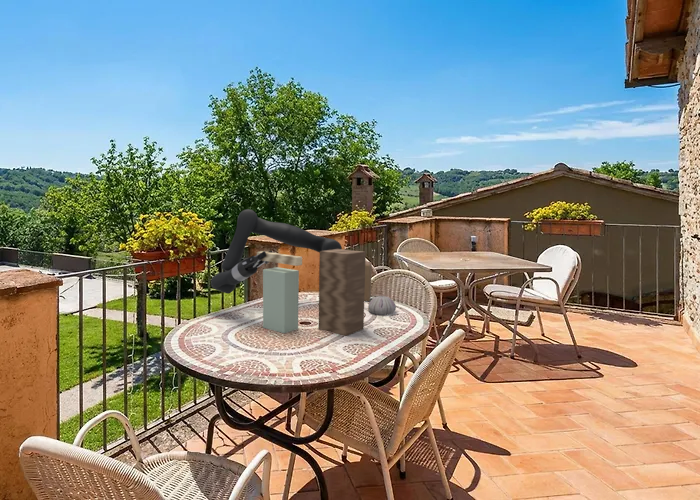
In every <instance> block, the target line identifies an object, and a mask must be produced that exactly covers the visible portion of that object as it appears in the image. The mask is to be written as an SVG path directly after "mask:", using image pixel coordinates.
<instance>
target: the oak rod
mask: <svg viewBox="0 0 700 500" xmlns="http://www.w3.org/2000/svg"><path fill="white" fill-rule="evenodd" d="M262 252H264V250H263V251H257V254H256V255H259V254H260V253H262ZM265 252H266V257H264V258H263V259H261V260H263V261H269V262H270V263H277V264H283V265H288V266H296V267H297V266H302V265H303V256H299V255H292V254H284V253H278V252H273V253H271V252H269V251H265Z"/></svg>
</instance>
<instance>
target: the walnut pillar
mask: <svg viewBox="0 0 700 500" xmlns="http://www.w3.org/2000/svg"><path fill="white" fill-rule="evenodd" d="M366 254H367V253H366V251H362V250H353V249H333V250H325V251H320V253H319V267H318V269H319V272H318V274H319V276H318V277H319V278H318V279H319V282H318V284H319V286H318V289H319V290H318V328H317V329H318V330H319V331H324V332H327V333H333V334H336V335H341V336H344V337H348V336H350V335H353V334H355V333H357V332H360V331H363V330H364V324H365V323H364V322H365V320H364V319H365V302H364V294H365V262H366Z"/></svg>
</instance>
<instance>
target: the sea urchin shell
mask: <svg viewBox="0 0 700 500" xmlns="http://www.w3.org/2000/svg"><path fill="white" fill-rule="evenodd" d="M367 309H368V311H369V312H370V313H371V314H374V315H378V316H385V314H386V315H387V314H388V315H391V314H394V313H395V312H396V310H397V305H396V303H395V301H394V300H393V299H392V298H391V297H389V296H385V295H377V296H375V297H373V298H372V299H370V301H369V303H368V306H367ZM388 315H387V316H388Z"/></svg>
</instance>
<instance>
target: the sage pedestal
mask: <svg viewBox="0 0 700 500" xmlns="http://www.w3.org/2000/svg"><path fill="white" fill-rule="evenodd" d="M299 278H300V271H299V270H298V269H293V268H283V267H278V266H277V267H271V268H263V269H262V328H263V329H266V330H270V331H273V332H274V331H275V332H277V333H281V334H287V333H289V332H293V331H296V330H299V286H300V285H299V283H300V281H299Z"/></svg>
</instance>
